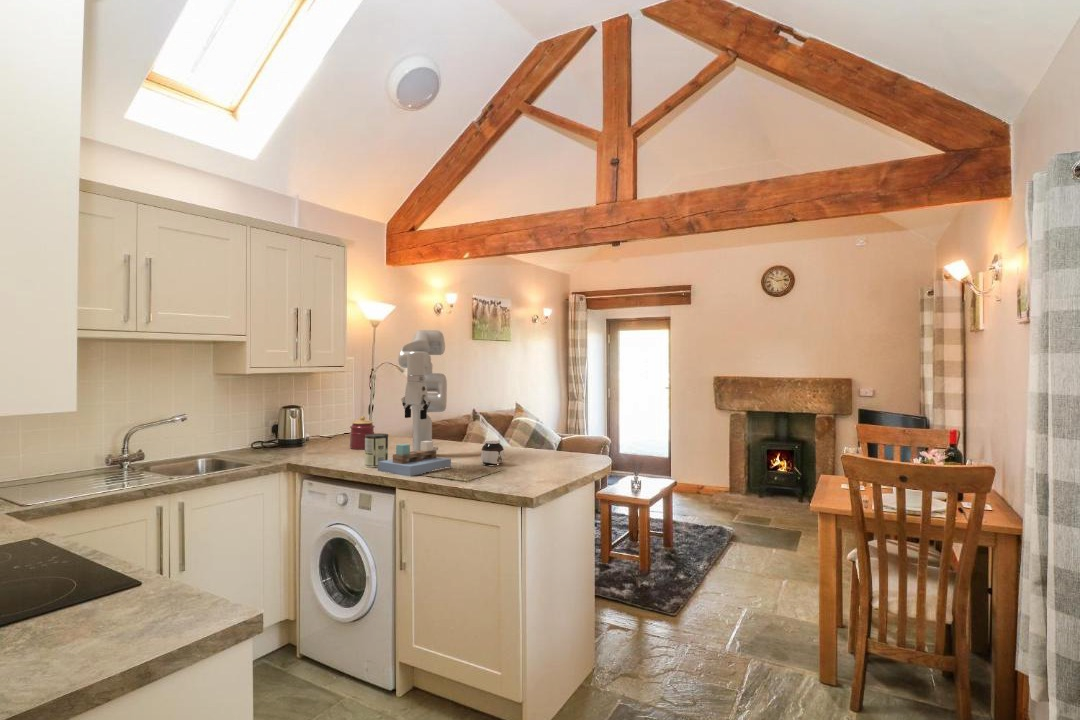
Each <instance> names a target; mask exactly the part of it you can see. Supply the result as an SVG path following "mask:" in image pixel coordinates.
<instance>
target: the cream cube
mask: <svg viewBox="0 0 1080 720" xmlns="http://www.w3.org/2000/svg"><path fill="white" fill-rule="evenodd" d="M433 447H434V441H433V440H432V441H421V444H420V451H432V450H433Z"/></svg>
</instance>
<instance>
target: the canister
mask: <svg viewBox="0 0 1080 720" xmlns="http://www.w3.org/2000/svg"><path fill="white" fill-rule="evenodd" d="M373 423H374V421H372V420H371V419H366V417H365V416H363V415H361V416H360V417H359V419H355V420H353V421H352V422H351V424H352V425H350V426H349V428H350V432H349V435H350V436H349V441H350V443H349V448H350V449H351V448H352V449H351V450H365V435H367V434H376V433H375V431H374V428H375V425H374V424H373Z"/></svg>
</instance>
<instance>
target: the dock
mask: <svg viewBox="0 0 1080 720" xmlns="http://www.w3.org/2000/svg"><path fill="white" fill-rule="evenodd" d="M450 466H451V467H452V459H451V458H447V457H440V456H439V457H438V456H436V458H434V459H429V458H422V461H411V460H408V463H405V464H399V463H393V458H391V459H388V460H385V461H379V462H378V467H377V471H378V472H381V473H382V472H383V473H388V472H389V474H394V473H395V475H401V476H406V477H413V476H418V475H422V474H423V473H424V474H427V473H426V472H429V471H432V470H435V469H440V468H445V467H450ZM429 473H430V472H429Z"/></svg>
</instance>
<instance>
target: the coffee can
mask: <svg viewBox="0 0 1080 720" xmlns="http://www.w3.org/2000/svg"><path fill="white" fill-rule="evenodd" d="M388 441H389V434H388V433H381V432H380V433H379V432H378V433H374V434H367V435H365V449H364V467H365V468H370V467H377V468H378V462H379V461H385V460H389V458H388V456H389V442H388Z"/></svg>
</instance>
